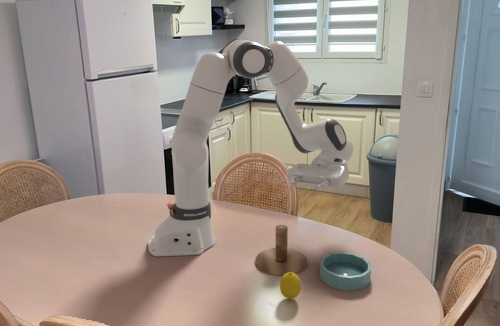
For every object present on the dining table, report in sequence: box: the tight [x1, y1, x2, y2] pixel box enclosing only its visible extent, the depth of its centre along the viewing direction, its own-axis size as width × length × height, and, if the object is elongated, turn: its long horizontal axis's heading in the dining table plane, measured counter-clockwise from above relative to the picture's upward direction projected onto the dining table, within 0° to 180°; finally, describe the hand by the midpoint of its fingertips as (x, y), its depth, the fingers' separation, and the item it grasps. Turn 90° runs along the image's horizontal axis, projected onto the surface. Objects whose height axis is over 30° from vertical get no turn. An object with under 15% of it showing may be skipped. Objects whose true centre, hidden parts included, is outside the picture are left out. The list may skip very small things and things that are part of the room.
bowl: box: [319, 251, 372, 292], centre depth 127 cm, size 14×14×4 cm
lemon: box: [279, 272, 302, 300], centre depth 116 cm, size 6×6×8 cm
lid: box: [255, 224, 308, 277], centre depth 134 cm, size 16×16×12 cm
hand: (304, 187), depth 139 cm, fingers open, 8 cm apart
